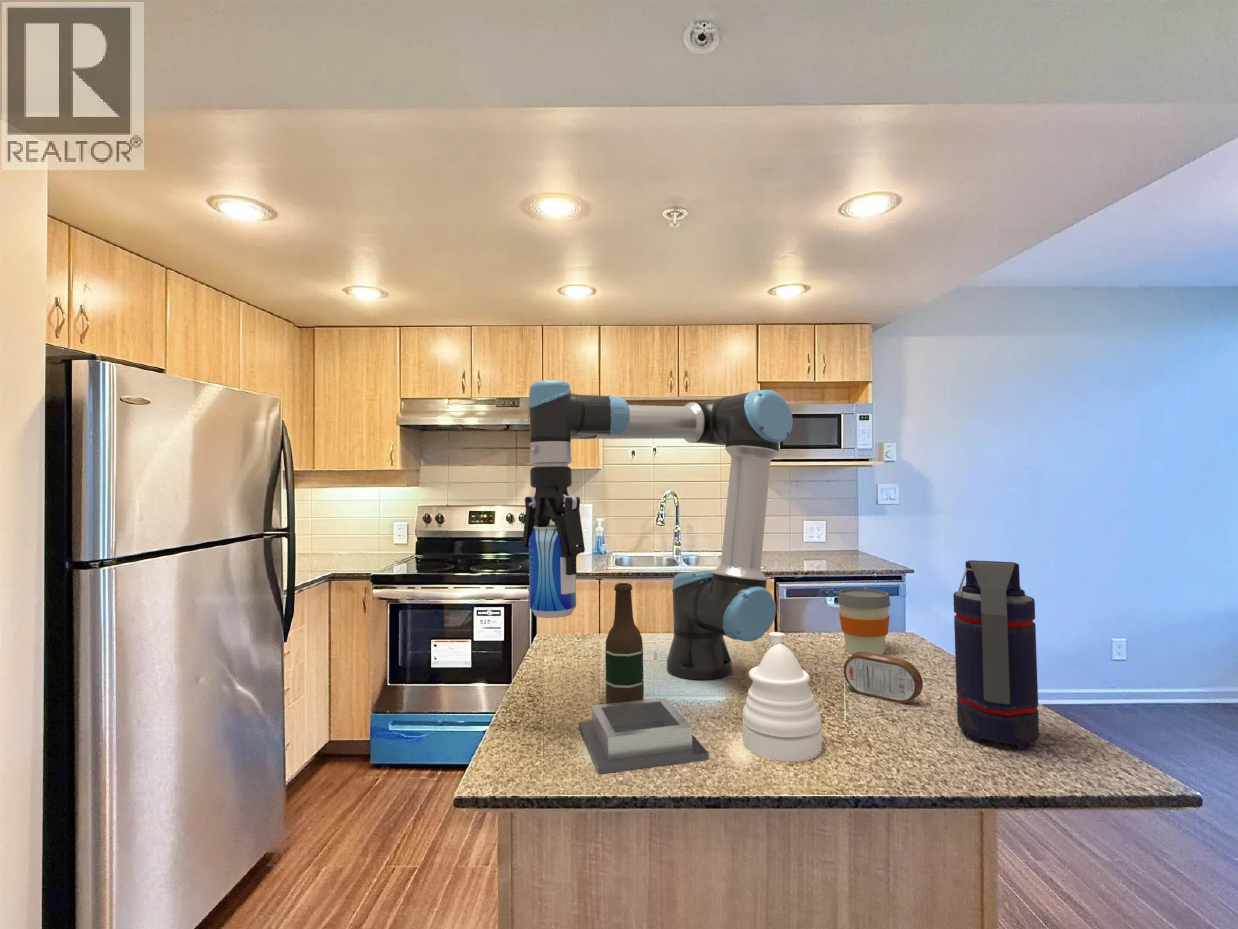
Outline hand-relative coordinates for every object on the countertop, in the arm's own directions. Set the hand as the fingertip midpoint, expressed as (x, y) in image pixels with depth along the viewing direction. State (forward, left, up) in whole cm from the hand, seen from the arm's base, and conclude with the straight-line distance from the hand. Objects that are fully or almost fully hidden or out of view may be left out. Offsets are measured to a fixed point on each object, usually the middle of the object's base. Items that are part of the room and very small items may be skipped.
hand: (553, 589), depth 110 cm
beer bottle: (-15, -8, -25) cm, 31 cm away
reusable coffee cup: (-83, -26, -25) cm, 91 cm away
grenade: (-72, +25, -25) cm, 80 cm away
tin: (-66, +3, -25) cm, 71 cm away
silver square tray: (-13, +10, -25) cm, 30 cm away
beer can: (0, 0, -5) cm, 5 cm away
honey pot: (-36, +17, -25) cm, 47 cm away
